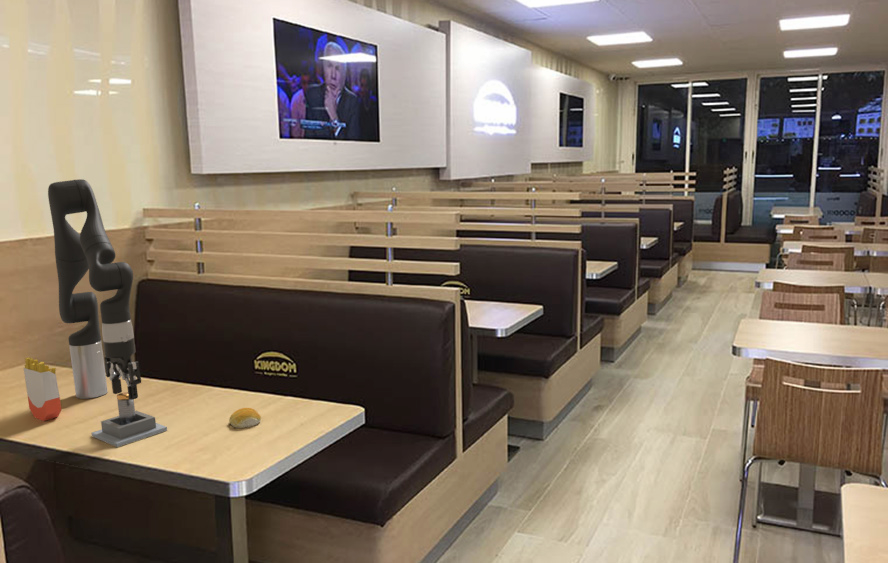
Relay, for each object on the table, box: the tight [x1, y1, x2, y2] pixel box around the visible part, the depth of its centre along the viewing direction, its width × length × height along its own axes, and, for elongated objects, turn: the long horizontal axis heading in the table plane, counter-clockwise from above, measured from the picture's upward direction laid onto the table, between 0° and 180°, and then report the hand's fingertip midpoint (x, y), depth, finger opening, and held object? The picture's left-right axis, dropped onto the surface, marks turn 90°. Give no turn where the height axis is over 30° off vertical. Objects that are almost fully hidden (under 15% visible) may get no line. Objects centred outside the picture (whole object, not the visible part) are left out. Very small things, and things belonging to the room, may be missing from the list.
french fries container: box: [23, 356, 62, 422], centre depth 211 cm, size 5×11×18 cm, turn 54°
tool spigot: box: [116, 391, 136, 426], centre depth 195 cm, size 4×4×10 cm
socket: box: [91, 410, 168, 448], centre depth 195 cm, size 14×14×4 cm
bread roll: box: [228, 407, 262, 429], centre depth 200 cm, size 8×9×4 cm
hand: (125, 396), depth 194 cm, fingers open, 8 cm apart
